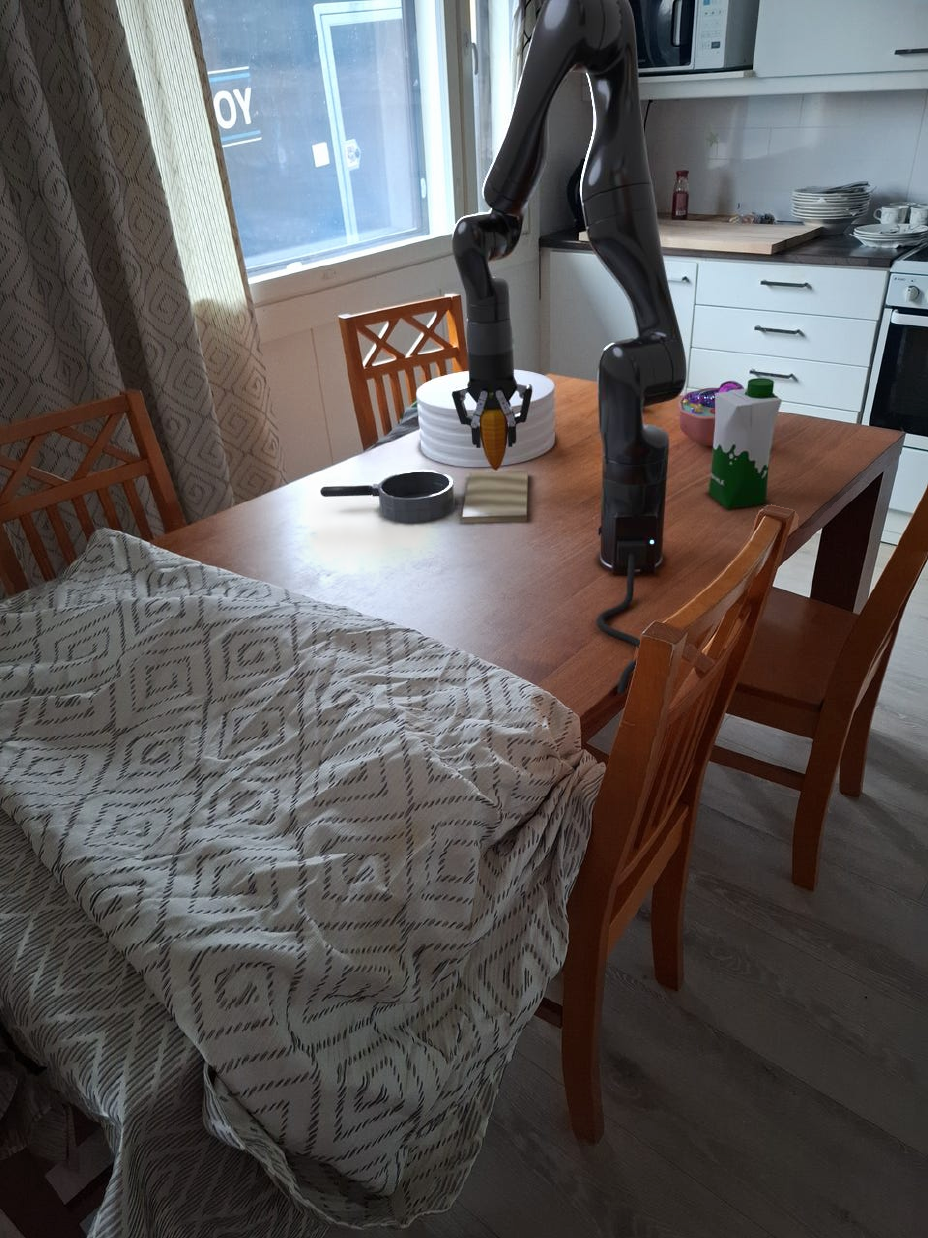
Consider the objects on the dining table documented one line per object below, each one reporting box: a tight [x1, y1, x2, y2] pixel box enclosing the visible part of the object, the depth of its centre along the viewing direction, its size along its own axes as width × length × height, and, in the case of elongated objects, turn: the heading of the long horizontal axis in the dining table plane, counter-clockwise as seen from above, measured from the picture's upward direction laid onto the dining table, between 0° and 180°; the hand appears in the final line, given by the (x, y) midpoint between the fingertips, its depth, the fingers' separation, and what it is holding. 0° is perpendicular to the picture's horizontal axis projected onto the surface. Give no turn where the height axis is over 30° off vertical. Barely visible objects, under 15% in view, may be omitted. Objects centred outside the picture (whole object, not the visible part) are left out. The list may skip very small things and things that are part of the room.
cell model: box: [677, 380, 745, 447], centre depth 168 cm, size 17×20×11 cm
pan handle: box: [320, 483, 379, 498], centre depth 152 cm, size 11×2×2 cm, turn 86°
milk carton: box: [708, 377, 783, 510], centre depth 143 cm, size 9×9×20 cm
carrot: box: [479, 393, 508, 472], centre depth 148 cm, size 5×5×15 cm
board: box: [461, 470, 529, 524], centre depth 154 cm, size 20×11×1 cm, turn 176°
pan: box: [378, 469, 456, 525], centre depth 152 cm, size 13×13×4 cm
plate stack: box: [415, 369, 556, 468], centre depth 177 cm, size 28×28×12 cm
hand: (494, 445), depth 149 cm, fingers closed on carrot, 5 cm apart
